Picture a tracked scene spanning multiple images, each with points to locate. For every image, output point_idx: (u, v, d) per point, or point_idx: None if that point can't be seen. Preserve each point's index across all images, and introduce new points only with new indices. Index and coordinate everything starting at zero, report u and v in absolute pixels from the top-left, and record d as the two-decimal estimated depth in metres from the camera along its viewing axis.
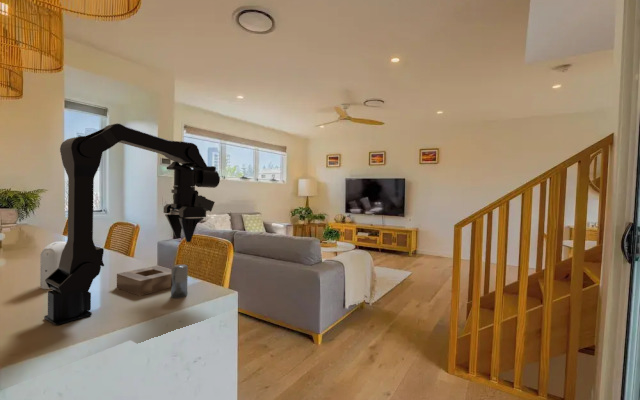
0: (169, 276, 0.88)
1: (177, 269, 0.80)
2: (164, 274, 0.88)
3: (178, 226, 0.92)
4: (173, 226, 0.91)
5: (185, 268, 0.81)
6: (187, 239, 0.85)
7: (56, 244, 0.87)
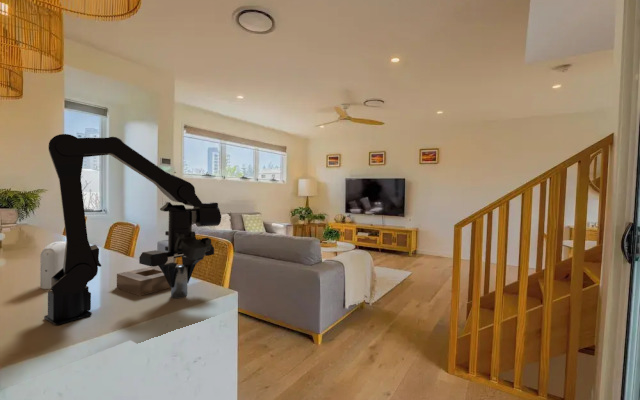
0: None
1: (177, 269, 0.80)
2: None
3: None
4: None
5: (185, 268, 0.81)
6: (169, 284, 0.80)
7: (56, 244, 0.87)
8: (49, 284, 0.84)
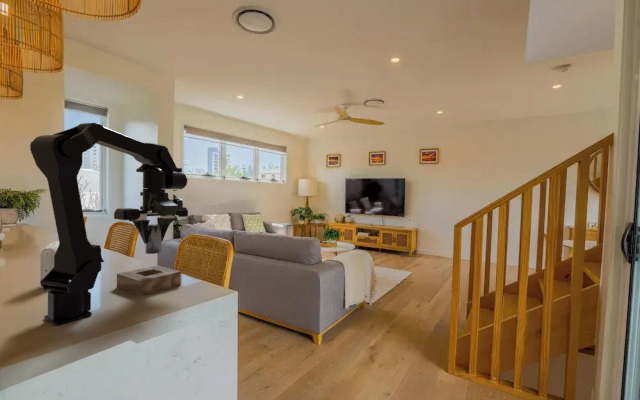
0: (169, 276, 0.88)
1: (151, 226, 0.86)
2: (164, 274, 0.88)
3: None
4: None
5: (158, 226, 0.87)
6: (143, 240, 0.86)
7: (56, 244, 0.87)
8: None
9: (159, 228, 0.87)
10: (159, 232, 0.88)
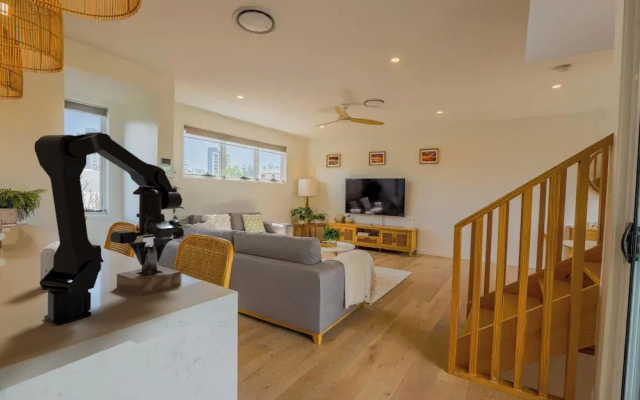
0: (169, 276, 0.88)
1: (147, 248, 0.87)
2: (164, 274, 0.88)
3: None
4: None
5: (155, 247, 0.88)
6: (139, 262, 0.87)
7: (56, 244, 0.87)
8: None
9: (155, 249, 0.88)
10: (155, 253, 0.88)
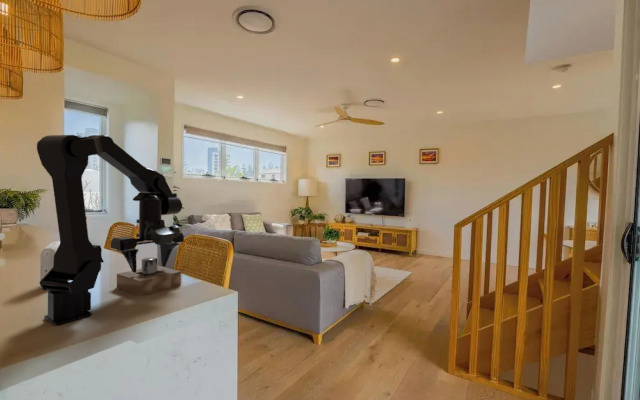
0: (169, 276, 0.88)
1: (146, 262, 0.87)
2: (164, 274, 0.88)
3: (164, 255, 0.93)
4: (161, 254, 0.93)
5: (154, 261, 0.88)
6: (131, 269, 0.85)
7: (56, 244, 0.87)
8: None
9: (155, 262, 0.88)
10: (155, 266, 0.88)
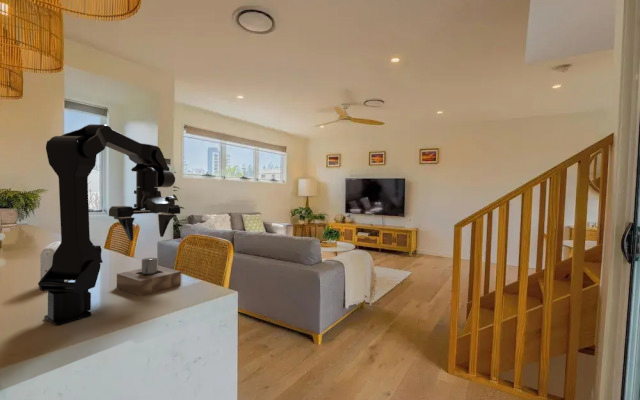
0: (169, 276, 0.88)
1: (146, 261, 0.87)
2: (164, 274, 0.88)
3: (162, 225, 0.96)
4: (159, 225, 0.97)
5: (154, 261, 0.88)
6: (128, 237, 0.88)
7: (56, 244, 0.87)
8: None
9: (155, 262, 0.88)
10: (155, 266, 0.88)
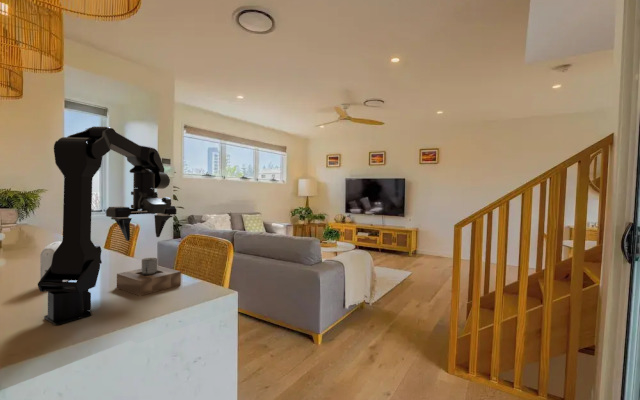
0: (169, 276, 0.88)
1: (146, 262, 0.87)
2: (164, 274, 0.88)
3: (158, 226, 0.98)
4: (155, 226, 0.99)
5: (154, 261, 0.88)
6: (125, 238, 0.90)
7: (56, 244, 0.87)
8: None
9: (155, 262, 0.88)
10: (155, 266, 0.88)
